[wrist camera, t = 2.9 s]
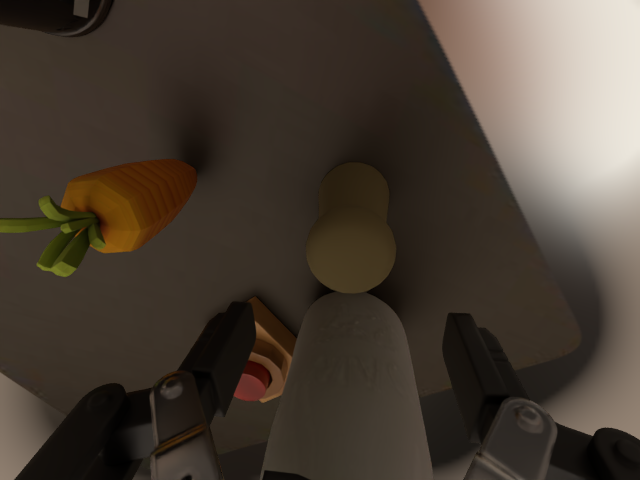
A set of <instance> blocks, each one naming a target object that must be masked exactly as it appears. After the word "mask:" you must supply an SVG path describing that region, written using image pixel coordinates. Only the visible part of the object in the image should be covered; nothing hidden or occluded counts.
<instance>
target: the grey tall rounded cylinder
mask: <svg viewBox="0 0 640 480" xmlns="http://www.w3.org/2000/svg"><path fill="white" fill-rule="evenodd" d="M265 470H269V471H277V472H286V473H294V474H299V475H301V476H303V477H306V478H308V479H310V480H434V478H433V471H432V465H431V460H430V454H429V449H428V444H427V438H426V433H425V428H424V422H423V417H422V413H421V407H420V403H419V397H418V392H417V387H416V382H415V377H414V372H413V367H412V362H411V357H410V352H409V347H408V342H407V338H406V334H405V331H404V328H403V326H402V323H401V321H400V319H399V318H398V316H397V315H396V313H395V312H394V311H393V310H392V309H391V308H390V307H389V306H388V305H387V304H386V303H384V302H383V301H381V300H380V299H378V298H377V297H375V296H373V295H370V294H368V293H365V292H360V293H356V294H352V293H341V292H338V291H337V292H333V293H330V294H327V295H324V296H322V297H321V298H319V299H318V300H316V301H315V302H314V303H313V304H312V305H311V306H310V307H309V309H308V310H307V312H306V314H305V317H304V319H303V322H302V325H301V328H300V331H299V334H298V337H297V341H296V344H295V348H294V352H293V356H292V361H291V364H290V369H289V372H288V376H287V379H286V382H285V386H284V389H283V393H282V397H281V400H280V403H279V406H278V409H277V412H276V415H275V418H274V422H273V425H272V428H271V432H270V437H269V440H268V445H267V449H266V453H265V458H264V463H263V468H262V472H261V478H260V480H262V479H263V475H264V471H265Z"/></svg>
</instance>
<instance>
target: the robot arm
mask: <svg viewBox="0 0 640 480" xmlns="http://www.w3.org/2000/svg"><path fill="white" fill-rule="evenodd" d="M111 2H112V0H0V24H1V25H7V26H12V27H18V28H24V29H31V30H37V31H42V32H45V33H48V34H52V35H57V36H63V37H78V36H83V35H86V34H88V33H90V32H92V31H93V30H94V29H96V28H97V27H98V26H99V25H100V24H101V23H102V21H103V20H104V18H105V17H106V15H107V13H108V11H109V8H110V5H111ZM255 341H256V325H255V319H254V313H253V307H252V304H251V303H250V302H232V303H231V304H230V306H229V308H228V309H227V311H226V312H225V313H219V314H218V315H216V316H215V317H214V318H213V319H211V320H210V321H209V322H208V324H207V326H206V327H205V329H204V330H203V333H201V335H200V336H199V338H198V341H196V342H195V344H194V346H193V347H192V349H191V350H190V352H189V353H188V355H187V356H186V358H185V359H184V361H183V363H182V364H181V366H180V367H179V369H178V370H177V371H175V372H172V373H169V374H167V375H165V376H164V377H162V378H161V379H160V380H158V381H157V382H156V384H155V385H154V386H153V387H152V388H148V389H144V390H139V391H134V392H129V393H126V391H125V389H124V387H123V386H122V385H120V384H117V383H110V384H106V385H102V386H100V387H98V388H96V389H94V390H92V391H91V392H89V393H88V394H87V395H85V396H84V397H83V398H82V399H81V400H80V401H79V403H78V404H77V405H76V406H75V407H74V409H73V410H72V411H71V412H70V413H69V415H68V416H67V417H66V418H65V419H64V421H63V422H62V423H61V424H60V425H59V427H58V428H57V429H56V430H55V431H54V433H53V434H52V435H51V436H50V437H49V439H48V440H47V441H46V442H45V443H44V445H43V446H42V447H41V448H40V449H39V451H38V452H37V453H36V454H35V455H34V457H33V458H32V459H31V460H30V462H29V463H28V464H27V465H26V466H25V467H24V469H23V470H22V471H21V472H20V474H19V475H18V476H17V477H16V479H15V480H132V479H133V477H134V475H135V473H136V472H137V470H138V468H139V466H140V464H141V462H142V460H143V458H146V457H150V464H151V477H152V480H224V478H223V474H222V471H221V467H220V463H219V459H218V455H217V452H216V448H215V444H214V440H213V436H212V433H211V429H210V424H211V422H212V420H213V417H214V416H219V417H225V415H226V412H227V410H228V408H229V405H230V403H231V400H232V398H233V395H234V393H235V391H236V388H237V386H238V383H239V381H240V379H241V376H242V374H243V371H244V369H245V366H246V364H247V362H248V359H249V357H250V354H251V352H252V350H253V347H254V345H255ZM442 350H443V357H444V361H445V364H446V367H447V371H448V374H449V377H450V381H451V384H452V387H453V390H454V394H455V397H456V400H457V404H458V407H459V410H460V413H461V417H462V420H463V423H464V427H465V430H466V433H467V436H468V440H469V442H473V443H481V445H482V446H481V448H480V450H479V452H477V453H476V455H475V457H474V459H473V461H472V463H471V465H470V467H469V469H468V471H467V473H466V475H465V477H464V479H463V480H640V440H639V439H637V438H635V437H634V436H632V435H630V434H628V433H626V432H623V431H621V430H618V429H613V428H601V429H598V430H597V431H596V432H595V434H594V436H591V435H588V434H585V433H582V432H579V431H577V430H574V429H571V428H568V427H565V426H563V425H560V424H558V423H556V422H554V420H553V419H552V417H551V416H550V415H549V414H548V413H547V412H546V411H545V410H544V409H543V408H542V407H540V406H539V405H538V404H536V403H534V402H532V401H530V399H529V397H528V395H527V394H526V392H525V390H524V388H523V387H522V384H521V382H520V381H519V379H518V377H517V375H516V373H515V371H514V369H513V368H512V366H511V364H510V362H508V358H507V356H506V355H505V353H504V352H503V349H502V347H501V345H500V343H499V342H498V340H497V338H496V337H495V336H494V335H493V334H492V333H490V332H489V331H488V330H487V329H486V328H477V326H476V324H475V321H474V319H473V317H472V316H471V314H467V313H449V314H448V316H447V321H446V327H445V332H444V337H443V343H442ZM262 480H310V479H308V478H306V477H303V476H301V475H299V474H294V473H286V472H277V471H269V470H265V471H264V475H263V479H262Z"/></svg>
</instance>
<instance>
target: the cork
mask: <svg viewBox="0 0 640 480" xmlns="http://www.w3.org/2000/svg"><path fill="white" fill-rule="evenodd" d="M389 195H390V192H389V188H388V185H387V182H386V180H385V179H384V177H383V176H382V174H381V173H380V172H379V171H377V170H376V169H375V168H373V167H372V166H370V165H367V164H364V163H361V162H348V163H345V164H342V165H339V166H337V167H335V168H334V169H332V170H331V171H330V172H328V174H327V175H326V176H325V178H324V179H323V180H322V182H321V185H320V189H319V219H318V220H317V221H316V223H315V224H314V225H313V226H312V228H311V230H310V233H309V236H308V239H307V242H306V257H307V262H308V264H309V267H310V269H311V272H312V273H313V274H314V275H315V276H316V278H317V279H318V280H319V281H320V282H321V283H322V284H324V285H325V286H327V287H329V288H330V289H332V290H335V291H338V292H341V293H352V294H356V293H360V292H365V291H368V290H370V289H372V288H374V287H376V286H377V285H379V284H380V283H381V282H382V281H383V280H384V279H385V278H386V277H387V276H388V275H389V273H390V271H391V269H392V267H393V265H394V262H395V256H396V244H395V240H394V236H393V233H392V230H391V229H390V227H389V226H388V224H387V223H386V220H387V212H388V205H389Z"/></svg>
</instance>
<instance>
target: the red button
mask: <svg viewBox="0 0 640 480" xmlns="http://www.w3.org/2000/svg"><path fill="white" fill-rule="evenodd" d="M269 380H270V373H269V370H267V369H266V368H265V367H264V366H263V365H262V364H259V363H256V362H254V361H251V360H248V362H247V364H246V366H245V369H244V371H243V374H242V376H241V379H240V381H239V383H238V386H237V388H236V391H235V393H234V396H235V397H237V398H239V399H242V400H246V401H256V400H259V399H261V398H262V397H263V396H264V395H265V393H266V390H267V386H268V383H269Z"/></svg>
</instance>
